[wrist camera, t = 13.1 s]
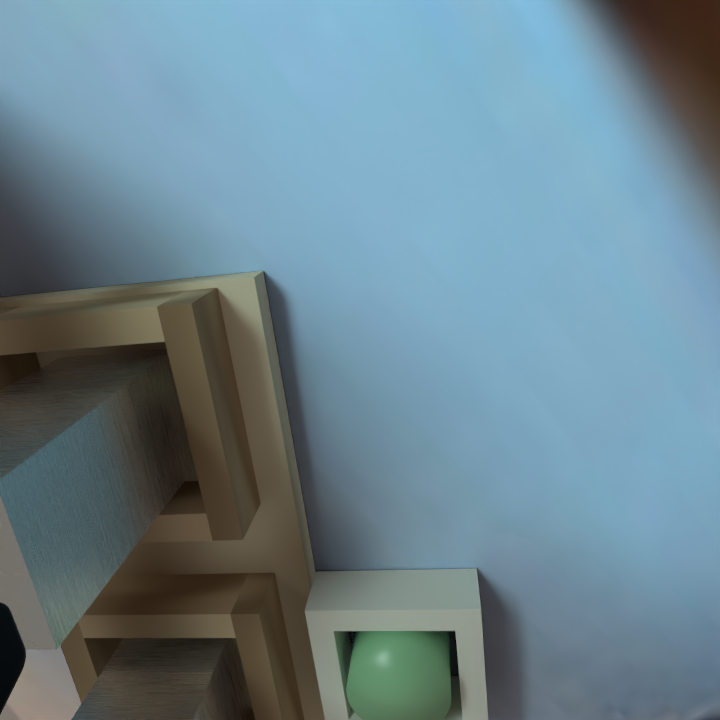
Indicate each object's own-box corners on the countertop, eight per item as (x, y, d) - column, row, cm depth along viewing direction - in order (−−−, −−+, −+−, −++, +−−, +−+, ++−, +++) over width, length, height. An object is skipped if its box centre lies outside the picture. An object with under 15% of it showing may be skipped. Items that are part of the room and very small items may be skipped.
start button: (445, 599, 21) (447, 655, 19) (452, 674, 22) (454, 735, 20) (349, 601, 22) (340, 654, 19) (361, 673, 23) (353, 732, 21)
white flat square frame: (476, 568, 21) (481, 609, 19) (484, 693, 23) (489, 741, 21) (315, 571, 22) (304, 610, 20) (336, 691, 24) (328, 737, 22)
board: (263, 270, 18) (232, 292, 15) (341, 718, 24) (329, 792, 21) (-19, 299, 20) (-95, 323, 17) (121, 713, 26) (83, 782, 23)
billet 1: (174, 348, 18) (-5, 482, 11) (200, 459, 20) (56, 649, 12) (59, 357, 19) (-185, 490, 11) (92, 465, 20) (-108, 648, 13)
